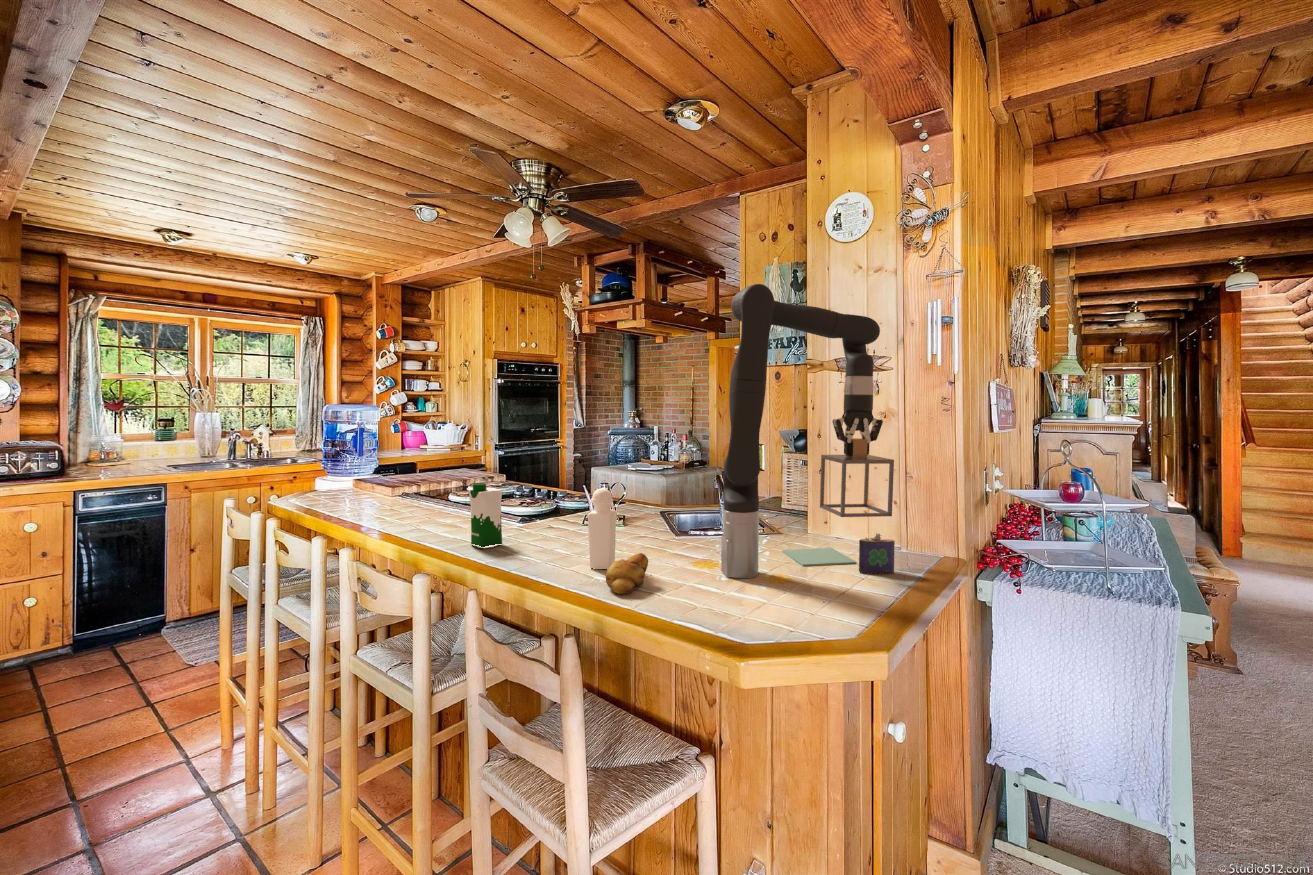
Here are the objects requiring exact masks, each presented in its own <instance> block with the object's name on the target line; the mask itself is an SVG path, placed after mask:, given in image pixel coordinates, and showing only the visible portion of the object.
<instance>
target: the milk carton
mask: <svg viewBox="0 0 1313 875" xmlns="http://www.w3.org/2000/svg"><path fill="white" fill-rule="evenodd" d="M468 495H469V503H470V528H471V529H470V530H471V532H470V540H471V541H470V545H471V544H475V545H479V546H481V547H485V546H489V545H495V544H502V545H503V533H502V532H503V531H502V496H503V489H500V488H494V487H487V483H485V482H478V483H477V482H476V483H473V484H472V489H468Z"/></svg>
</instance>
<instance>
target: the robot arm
mask: <svg viewBox="0 0 1313 875" xmlns="http://www.w3.org/2000/svg"><path fill="white" fill-rule="evenodd" d="M730 306H731V309H730V310H731V313H732V314H733V316H734V317H735V318H736V319H737V320H738V321H740V322H741V329H740V330H741V334H740V341H739V344H738V349H737V352H736V354H735V356H734V360H733V364H732V368H731V372H730V373H731V374H730V380H729V392H728V393H729V394H728V396H729V397H728V398H729V400H728V402H729V404H728V405H729V406H728V407H729V409H728V410H729V419H730V420H729V421H730V422H729V423H730V434H729V444H728V451H727V455H726V456H725V459H724V460H723V475H722V476H723V480H722V482H723V489H722V490H723V491H722V492H723V494H722V495H723V535H722V536H721V537H720V538H721V551H720V552H721V554H720V555H721V557H720V558H721V559H720V562H721V563H720V564H721V565H720V566H721V567H720V571H721V572H722V574H723V575H725V577H726V578H734V579H735V578H736V579H751V578H755V577H757V576H758V575H759V568H760V567H759V554H760V553H759V550H760V548H759V545H760V544H759V541H760V540H759V539H760V538H759V534H760V532H759V531H760V530H759V528H760V524H759V523H760V522H759V521H760V516H759V515H760V500H759V475H760V473H761V463H760V462H761V461H760V459H761V458H760V432H761V431H760V430H761V425H762V421H763V420H762V419H763V414H764V407H765V399H766V398H765V397H766V391H767V376H768V375H767V372H768V371H767V369H768V358H769V341H770V340H769V339H770V334H771V329H772V328H771V327H772V326H777V327H783V328H787V329H792V330H796V331H800V332H803V333H807V334H812V335H816V336H819V337H824V338H827V339H841V341H842V347H843V353H844V357H845V362H846V364H845V379H844V386H843V387H844V388H843V413H842V415H841V417H840V418H834V419H832V425H833V428H834V429H833V430H834V432H835V435H836V438H837V440H839V441H841V442H843V455H846V456H847V457H851V451H852V443H851V441H852V438H854V437H853V436H854V435H855V433H856V432H857V431H858V432H859V434H860V436H861V439H868V442H867V455H870V444H871V442H874V441H875V442H876V441H877V439H878V437H879V434H880V432H881V429H882V426H883V424H884V421H883V419H878V418H876V417H874V415H873V410H874V387H875V386H874V358H873V356H872V355H870V354H868V350H867V345H870V344H872V343H874V342H875V341H877V340H878V338H879V336H880V333H881V329H880V325H879V323H878V322H877V321H876V320H874V319H873V318H872V317H869V316H865V315H859V314H849V313H840V312H838V311H834V310H830V309H827V308H826V309H825V308H823V307H822V308H821V307H817V306H812V305H800V304H794V303H793V304H791V303H786V302H785V303H784V302H781V301H777V300H775V297H774V295H773V292H772V291H771V289H770V288H769V287H768V286H767V285H765V284H763V283H755V284H751V285H748V286H747V287H745V288H742V289H741V290H739V291H738V292H737V293H736V294H735V295H734V296H733V298H732V300H731V304H730ZM844 424H845V430H844V429H843V425H844ZM870 425H871V428H870Z"/></svg>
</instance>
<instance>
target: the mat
mask: <svg viewBox="0 0 1313 875" xmlns="http://www.w3.org/2000/svg"><path fill="white" fill-rule="evenodd" d="M781 552H782V553H783V552H784V553H783V554H784V555H786V556H788V557H789V558H791V559H792V560H793V561H794V562H796V561H797V562H796V563H797V564H799V565H801V566H802V567H811V566H812V567H814V566H816V567H817V566H834V565H855V564H856V563H858V562H857V561H856V560H854V559H852V558H850V557H849V556H847V555H845V554H843V553H841V552H840V551H838V550H837V549H834V548H833V547H822V548H821V547H819V548H814V547H813V548H795V549H794V548H793V549H792V548H791V549H782V550H781ZM856 565H857V564H856Z"/></svg>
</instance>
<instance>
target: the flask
mask: <svg viewBox="0 0 1313 875" xmlns="http://www.w3.org/2000/svg"><path fill="white" fill-rule="evenodd" d="M858 542H859V544H858V545H859V546H858V548H859V551H858V553H859V554H858V556H859V557H858V560H859V561H858V572H860V573H859V574H863V575H894V573H895V546H896V545H895V544H896V543H895V540H893V539H890V538H888V539H882V535H881V534H880V533H875V536H874V537H865V538H862V539H859V541H858Z"/></svg>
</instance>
